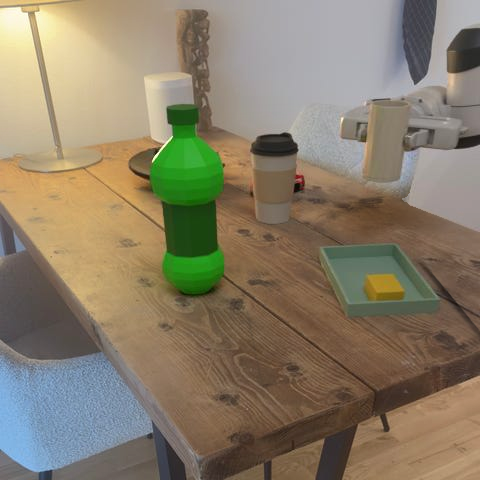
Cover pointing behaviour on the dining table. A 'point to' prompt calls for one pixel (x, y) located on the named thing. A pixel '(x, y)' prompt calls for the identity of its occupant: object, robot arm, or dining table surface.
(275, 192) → the coffee cup
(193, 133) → the plastic bottle
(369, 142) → the cup
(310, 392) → the dining table surface
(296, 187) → the race car
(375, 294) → the sponge
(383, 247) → the tray
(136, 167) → the oil lamp
